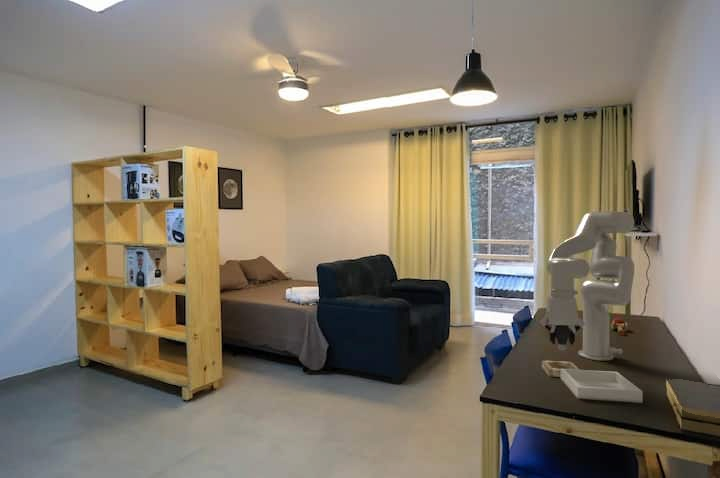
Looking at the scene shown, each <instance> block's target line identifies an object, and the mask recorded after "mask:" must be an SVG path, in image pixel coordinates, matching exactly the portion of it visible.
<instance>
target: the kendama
mask: <svg viewBox="0 0 720 478" xmlns="http://www.w3.org/2000/svg"><path fill="white" fill-rule="evenodd" d="M628 326H629V325H628V322H625V321H624V320H623V319H622V318H620V317H616V318H614V319H613V320H612V321H611V325H610V329H611V330H617V329H618V330H617V333H618V335H619V336H622V335H623V336H625V334H626V333H627V331H628ZM624 331H625V332H624Z"/></svg>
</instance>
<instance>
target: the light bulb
mask: <svg viewBox="0 0 720 478" xmlns="http://www.w3.org/2000/svg"><path fill="white" fill-rule="evenodd" d="M554 333H555V340H556V341H557V345H558V350H559V351H560V352H564V351H565V350H566V349H567V342H568V341H569V337H570V334H571V331H570V328H569V326H560V325H556V327H555V330H554Z"/></svg>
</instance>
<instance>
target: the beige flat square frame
mask: <svg viewBox="0 0 720 478" xmlns="http://www.w3.org/2000/svg"><path fill="white" fill-rule="evenodd" d="M541 367H542V369H543V371H545V373H546V374H547V375H548V376H549V377H557V378H558V377H559V378H560V377H561V369H578V370H580V369H579V367H577V366H576V365H575V364H574V363H573V362H572V361H563V360H562V361H557V360H543V359H542V360H541Z"/></svg>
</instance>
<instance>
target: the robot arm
mask: <svg viewBox="0 0 720 478" xmlns="http://www.w3.org/2000/svg"><path fill="white" fill-rule="evenodd" d="M634 227H635V219H634V217H633V215H632V214H631V212H626V211H619V210H618V211H615V210H606V211H603V210H602V211H590V212H587V213H585V214H584V215H583V216H582V218H581V220H580V221H579V224H578V226H577V228H576V230H575V232H574V234H573V235H572V236H571V237H570V238H568V239H565V240H564V241H563V242H561V243H560V244H559V245H557V246H556V247H555V248H554V249H553V250H552V252H551V254H550V256H549V258H548V261H547V265H546V270H547V273H548V274H549V275H550V296H548V297H547V303H546V310H545V315H544V317H542V319H541V320H540V321H539V323H540V325H541V326H542V327H544V328H546V330H547V331H548V332H549V342H551V343H552V344H553V345H555V344H556V337H555V333H554V330H555V327H556V325H560V326H568V327H569V328H570V331H571V334H570V337H569V338H568V342H569V344H570V345H574V342H575V343H576V334H577V332H578V331H579V330H580V329H581V328H582V349H580V350H578V352H577V353H578V356H580V357H582V358H584V359H587V360H595V361H600V362H601V361H604V362H605V361H607V362H608V361H613V360H614V355H615V354H617V355H622V354H623V349H621V348H617V347H611V346H610V320H611V319H610V317H611V316H610V312H609V311H608V309H607V308H606V306H605V305H610V306H619V307H623V306H624V307H625V306H627V305H628V304H629V302H630V299H631V294H632V289H633V283H634V278H635V264H634V261H633V259H632V258H630V257H628V256H623V255H616V253H617V244H616V242H615V240H614V239H613V238H612V237H611V236H610V234H628V233H630V232H632V230H633V229H634ZM591 250H592V252H591V257H590V262H589V263H588V261H587V260H585V259H583V258H577V257H576V258H575V257H571V256H575V255H578V254H582V253H585V252H588V251H589V252H590V251H591ZM589 273H590V275H591V276H593V277H595V278H598V279H587V280H585V281H583V282H582V284H581V286H580V294H581V301H582V318H580V316H579V310H578V302H577V299H576V297H575V296H576V295H579V291H578V290H575V289H574V286H575V284H574V283H575V281H574V280H575V279H577V280H580V279H584V278H586V277H587V276H588V275H589ZM599 278H600V279H599ZM604 279H605V280H604ZM608 279H609V280H608ZM610 279H611V280H610ZM614 280H617V281H614ZM547 323H548V324H547Z"/></svg>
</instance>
